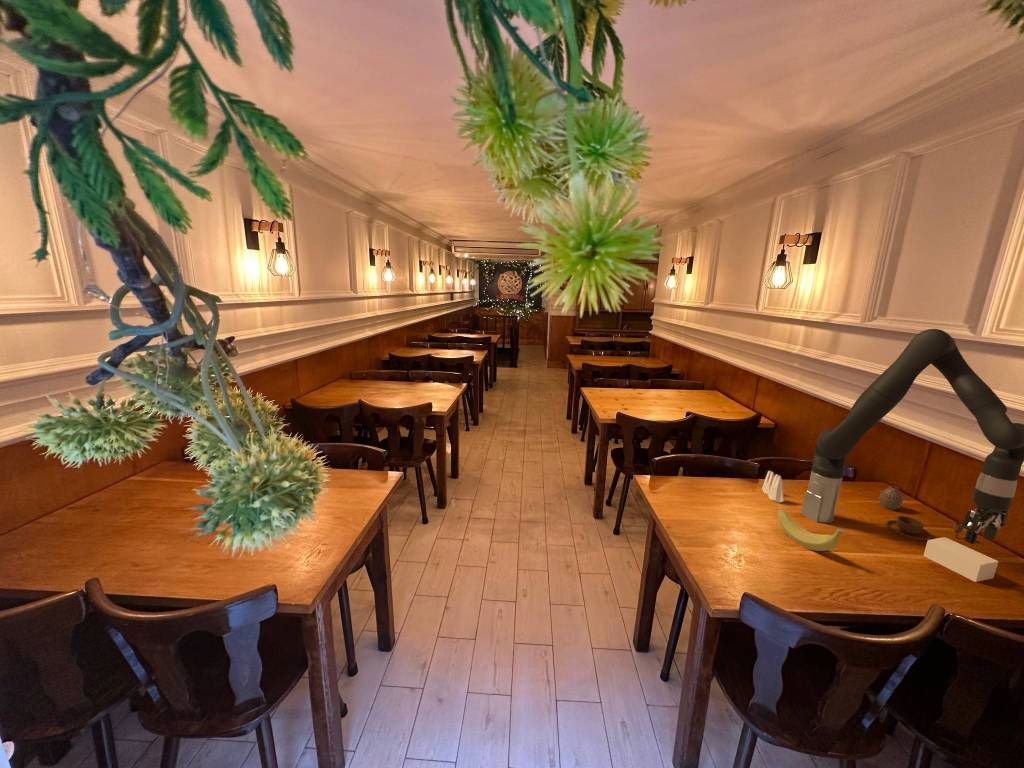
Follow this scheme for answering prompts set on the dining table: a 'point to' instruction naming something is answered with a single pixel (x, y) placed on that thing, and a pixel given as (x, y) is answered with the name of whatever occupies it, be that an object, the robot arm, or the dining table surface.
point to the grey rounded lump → (891, 498)
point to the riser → (961, 559)
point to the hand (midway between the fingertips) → (979, 540)
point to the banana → (807, 534)
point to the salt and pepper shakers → (773, 487)
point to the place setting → (916, 527)
